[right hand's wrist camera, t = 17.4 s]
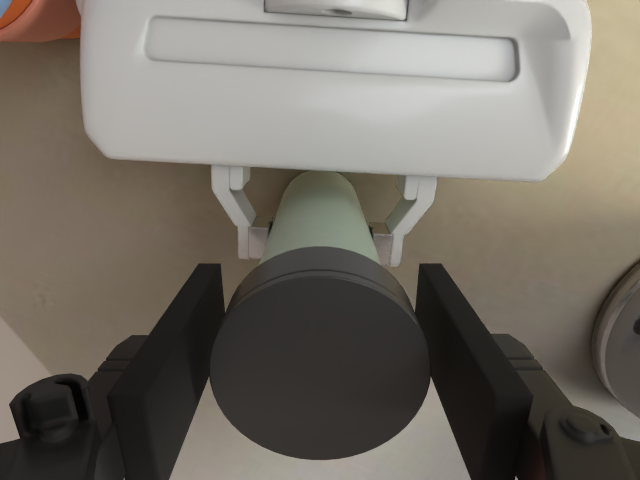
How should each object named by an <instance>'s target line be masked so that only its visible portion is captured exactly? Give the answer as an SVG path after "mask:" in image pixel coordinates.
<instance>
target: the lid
mask: <svg viewBox="0 0 640 480" xmlns="http://www.w3.org/2000/svg"><path fill="white" fill-rule="evenodd" d="M209 377H210V383H211V387H212V391H213V394H214V397H215V399H216V401H217V403H218V405H219V407H220V409H221V410H222V412H223V414H224V415H225V416H226V418H227V419H228V420H229V421H230V422H231V424H232V425H233V426H234V427H235V428H236V429H238V430H239V431H240V432H241V433H242V434H243V435H245V436H246V437H247V438H249V439H250V440H251V441H253V442H255V443H257V444H258V445H260V446H262V447H264V448H266V449H269V450H271V451H273V452H276V453H279V454H282V455H286V456H290V457H295V458H300V459H309V460H331V459H340V458H345V457H350V456H354V455H358V454H361V453H364V452H367V451H369V450H371V449H374V448H376V447H378V446H380V445H382V444H383V443H385V442H387V441H389V440H390V439H391V438H393V437H394V436H396V435H397V434H398V433H399V432H400V431H401V430H403V429H404V428H405V427H406V426H407V425H408V424H409V423H410V421H411V420H412V419H413V418H414V417H415V415H416V414H417V412H418V410H419V409H420V407H421V406H422V404H423V401H424V399H425V397H426V395H427V391H428V388H429V384H430V377H431V357H430V352H429V347H428V344H427V341H426V339H425V336H424V333H423V331H422V329H421V326H420V324H419V322H418V319H417V317H416V315H415V312H414V310H413V307H412V305H411V303H410V300H409V298H408V296H407V294H406V293H405V291H404V289H403V287H402V286H401V285H400V283H399V282H398V281H397V279H396V278H395V277H394V276H393V275H392V274H391V273H390V272H389V271H388V270H386V269H385V268H384V267H382V266H381V265H380V264H378V263H377V262H375V261H373V260H372V259H370V258H368V257H366V256H364V255H361V254H359V253H356V252H354V251H350V250H346V249H342V248H336V247H329V246H312V247H304V248H298V249H294V250H290V251H286V252H284V253H281V254H279V255H276V256H274V257H272V258H270V259H268V260H267V261H265V262H263V263H262V264H260V265H259V266H258V267H256V268H255V269H254V270H253V271H252V272H250V273H249V274H248V275H247V276H246V277H245V278H244V280H243V281H242V282H241V284H240V285H239V286H238V288H237V289H236V291H235V293H234V294H233V296H232V298H231V301H230V303H229V305H228V308H227V310H226V313H225V315H224V317H223V320H222V322H221V324H220V327H219V329H218V331H217V334H216V336H215V339H214V341H213V344H212V348H211V352H210V357H209Z"/></svg>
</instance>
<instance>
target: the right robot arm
mask: <svg viewBox="0 0 640 480" xmlns="http://www.w3.org/2000/svg"><path fill="white" fill-rule="evenodd" d="M224 315H225V307H224V297H223V286H222V275H221V264H198V265H197V267H196V268H195V270H194V271H193V273H192V274H191V275H190V277H189V278H188V280H187V281H186V283H185V284H184V285H183V287H182V288H181V290H180V291H179V293H178V294H177V295H176V297H175V298H174V300H173V301H172V303H171V304H170V306H169V307H168V308H167V310H166V311H165V313H164V314H163V316H162V317H161V318H160V320H159V321H158V323H157V324H156V326H155V327H154V328H153V330H152V331H151V333H150V334H149V335H132V336H130V337H129V338H127V339H126V340H124V341H123V342H121V343H120V344H118V345H117V346H116V347H115V348H114V349H113V351H112V352H111V353H110V354H109V356H108V357H107V358H106V361H104V362H103V363H102V364H101V366H100V367H99V368H98V371H97V372H95V373H94V374H93V376H92V377H91V378H90V380H89V381H88V382H87V380H86V379H85V378H84V377H82V376H81V375H76V374H60V375H55V376H51V377H48V378H45V379H42V380H40V381H38V382H35V383H33V384H31V385H29V386H28V387H26V388H25V389H24V390H22V391H21V392H20V393H18V394H17V395H16V396H15V397H14V399H13V400H12V401H11V403H10V404H9V406H10V409H11V412H12V415H13V418H14V421H15V424H16V427H17V430H18V433H19V436H20V439H17V440H14V441H9V442H5V443H1V444H0V480H123V479H124V477H125V480H169V478H170V475H171V473H172V470H173V468H174V465H175V463H176V460H177V457H178V455H179V452H180V450H181V447H182V445H183V442H184V439H185V437H186V434H187V432H188V429H189V426H190V424H191V421H192V419H193V416H194V414H195V411H196V408H197V406H198V403H199V401H200V398H201V396H202V393H203V390H204V388H205V385H206V383H207V380H208V377H209V357H210V352H211V348H212V344H213V341H214V339H215V336H216V334H217V331H218V329H219V327H220V324H221V322H222V320H223V317H224ZM415 315H416V317H417V319H418V322H419V324H420V326H421V329H422V331H423V333H424V336H425V339H426V341H427V344H428V347H429V352H430V357H431V377H432V380H433V383H434V385H435V388H436V390H437V393H438V396H439V398H440V401H441V403H442V406H443V408H444V411H445V414H446V416H447V419H448V421H449V424H450V426H451V429H452V432H453V434H454V437H455V439H456V442H457V445H458V447H459V450H460V452H461V455H462V457H463V460H464V463H465V465H466V468H467V470H468V473H469V475H470V478H471V480H515V477H517V479H518V480H640V442H638V441H634V440H630V439H626V438H622V437H619V436H618V434H617V433H616V431H615V430H614V428H613V427H612V426H611V425H610V424H608V423H607V422H606V421H605V420H604V419H602V418H601V417H599V416H597V415H595V414H594V413H592V412H590V411H588V410H585V409H582V408H579V407H576V406H573V405H572V404H571V403H570V401H569V400H568V399H567V398H566V396H565V395H564V394H563V393H562V391H561V390H560V389H559V388H558V386H557V385H556V384H555V383H554V381H553V380H552V379H551V378H550V376H549V375H548V374H547V373H546V371H545V370H543V369H542V366H541V365H540V364H539V363H538V361H537V360H534V356H533V355H532V354H531V353H530V351H529V350H528V349H527V348H526V346H525V345H524V344H522V343H521V342H519V341H518V340H516V339H515V338H513V337H512V336H510V335H509V334H490V333H489V331H488V330H487V328H486V327H485V326H484V324H483V323H482V321H481V320H480V318H479V317H478V316H477V314H476V313H475V311H474V310H473V308H472V307H471V306H470V304H469V303H468V301H467V300H466V298H465V297H464V295H463V294H462V293H461V291H460V290H459V288H458V287H457V285H456V284H455V283H454V281H453V280H452V278H451V277H450V275H449V274H448V273H447V271H446V270H445V268H444V267H443V265H442V264H419V275H418V286H417V297H416V307H415ZM591 352H592V360H593V365H594V368H595V371H596V373H597V375H598V377H599V379H600V381H601V382H602V383H603V385H604V386H605V387H606V388H607V389H608V391H609V392H610V393H611V394H612V395H613V396H614V397H615V398H616V399H617V400H618V401H619V402H620V403H621V404H622V405H623V406H624V407H625V408H626V409H628V410H629V411H630V412H632V413H633V414H635V415H636V416H637V417H639V418H640V262H639V263H638V264H637V265H636V266H635V267H633V268H632V269H631V270H630V271H629V272H628V273H627V274H626V275H625V276H624V277H623V278H622V280H621V281H620V282H619V283H618V284H617V285H616V287H615V288H614V289H613V291H612V292H611V293H610V295H609V296H608V298H607V299H606V301H605V303H604V304H603V306H602V308H601V310H600V312H599V315H598V317H597V320H596V323H595V326H594V330H593V335H592V344H591Z"/></svg>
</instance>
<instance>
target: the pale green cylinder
mask: <svg viewBox="0 0 640 480" xmlns="http://www.w3.org/2000/svg"><path fill="white" fill-rule="evenodd" d="M312 246H329V247H336V248H342V249H346V250H350V251H354V252H356V253H359V254H361V255H364V256H366V257H368V258H370V259H372V260H373V261H375V262H377V263H378V264H380V265H381V262H380V259H379V257H378V254H377V251H376V248H375V245H374V242H373V240H372V237H371V234H370V231H369V228H368V225H367V222H366V220H365V217H364V214H363V211H362V208H361V205H360V203H359V200H358V197H357V194H356V191H355V189H354V188H353V186H352V185H351V183H350V182H349V181H348V180H347V179H346V178H345V177H343V176H342V175H340V174H338V173H336V172H333V171H315V170H309V171H306V172H304V173H302V174H300V175H298V176H297V177H295V178H294V179H293V180H292V181H291V182H290V183H289V185H288V186H287V188H286V189H285V192H284V194H283V197H282V200H281V202H280V205H279V208H278V211H277V214H276V217H275V220H274V222H273V225H272V228H271V231H270V234H269V237H268V239H267V242H266V245H265V248H264V251H263V254H262V257H261V259H260V262H259V265H260V264H262V263H263V262H265V261H267V260H268V259H270V258H272V257H274V256H276V255H279V254H281V253H284V252H286V251H290V250H294V249H298V248H304V247H312ZM259 265H258V266H259ZM381 266H382V265H381Z"/></svg>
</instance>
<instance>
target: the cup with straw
mask: <svg viewBox="0 0 640 480" xmlns="http://www.w3.org/2000/svg"><path fill="white" fill-rule="evenodd" d="M80 31H81V15H80V13H79V11H78V8H77V5H76V1H75V0H0V42H45V41H51V40H55V39H74V38H80Z"/></svg>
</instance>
